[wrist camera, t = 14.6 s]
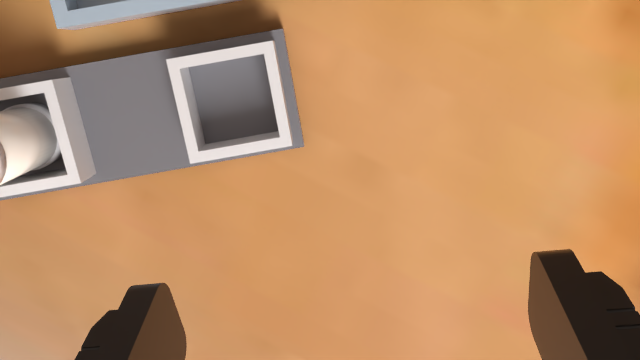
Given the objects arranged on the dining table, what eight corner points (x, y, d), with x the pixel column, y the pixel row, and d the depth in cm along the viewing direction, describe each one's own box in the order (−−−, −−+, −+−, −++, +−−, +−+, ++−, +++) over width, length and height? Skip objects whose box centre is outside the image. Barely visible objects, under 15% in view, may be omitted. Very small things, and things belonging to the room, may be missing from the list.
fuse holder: (283, 28, 34) (281, 27, 30) (304, 143, 35) (304, 154, 32) (-33, 84, 34) (-70, 89, 30) (3, 197, 35) (-29, 213, 32)
